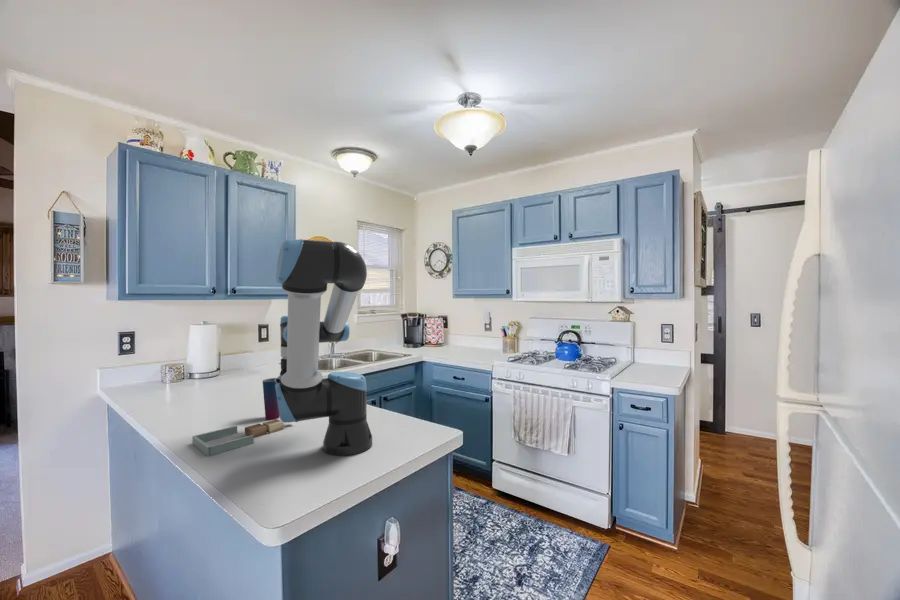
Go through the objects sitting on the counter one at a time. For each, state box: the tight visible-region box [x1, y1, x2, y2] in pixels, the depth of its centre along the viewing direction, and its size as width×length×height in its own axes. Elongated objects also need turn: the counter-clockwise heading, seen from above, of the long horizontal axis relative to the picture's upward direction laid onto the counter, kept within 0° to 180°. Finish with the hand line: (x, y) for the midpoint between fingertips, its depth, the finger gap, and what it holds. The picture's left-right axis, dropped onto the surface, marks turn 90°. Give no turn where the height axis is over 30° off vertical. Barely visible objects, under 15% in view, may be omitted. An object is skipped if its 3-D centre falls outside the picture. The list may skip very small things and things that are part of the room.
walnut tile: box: [244, 423, 268, 439], centre depth 132 cm, size 5×5×3 cm
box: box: [191, 425, 255, 457], centre depth 124 cm, size 15×13×2 cm
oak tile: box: [262, 418, 285, 435], centre depth 136 cm, size 5×5×3 cm
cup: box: [262, 377, 280, 421], centre depth 150 cm, size 7×7×15 cm
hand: (292, 420), depth 142 cm, fingers closed
